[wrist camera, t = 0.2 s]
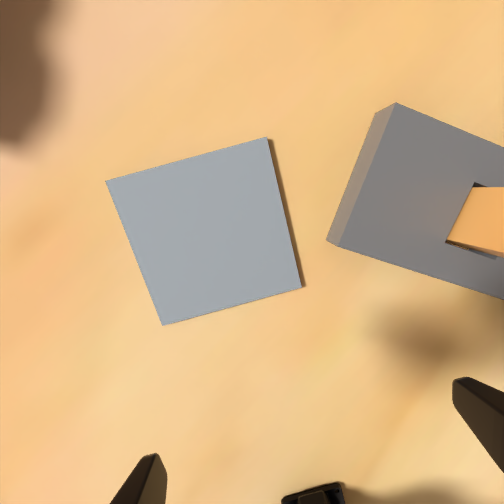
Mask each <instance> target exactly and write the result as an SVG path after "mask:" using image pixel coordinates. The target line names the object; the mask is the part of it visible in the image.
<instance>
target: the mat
mask: <svg viewBox="0 0 504 504" xmlns="http://www.w3.org/2000/svg"><path fill="white" fill-rule="evenodd" d="M105 182H106V184H107V187H108V189H109V192H110V194H111V197H112V199H113V202H114V204H115V207H116V209H117V212H118V214H119V217H120V220H121V222H122V225H123V227H124V230H125V232H126V235H127V237H128V240H129V242H130V245H131V247H132V250H133V253H134V255H135V258H136V260H137V263H138V265H139V268H140V270H141V273H142V275H143V278H144V280H145V283H146V285H147V288H148V291H149V293H150V296H151V298H152V301H153V303H154V306H155V308H156V311H157V313H158V316H159V318H160V321H161V324H162V326H164V325H167V324H171V323H175V322H178V321H182V320H186V319H189V318H193V317H196V316H200V315H204V314H207V313H211V312H215V311H218V310H222V309H225V308H229V307H233V306H236V305H240V304H244V303H247V302H251V301H254V300H258V299H262V298H265V297H269V296H273V295H276V294H280V293H283V292H287V291H291V290H294V289H298V288H302V287H301V282H300V278H299V274H298V269H297V265H296V261H295V256H294V252H293V248H292V244H291V239H290V235H289V231H288V226H287V222H286V218H285V214H284V209H283V205H282V201H281V196H280V192H279V188H278V184H277V179H276V175H275V171H274V166H273V162H272V158H271V154H270V149H269V145H268V141H267V137H264V138H260V139H257V140H253V141H249V142H246V143H242V144H239V145H235V146H231V147H228V148H224V149H220V150H217V151H213V152H209V153H206V154H202V155H198V156H195V157H191V158H187V159H184V160H180V161H177V162H173V163H169V164H166V165H162V166H158V167H155V168H151V169H147V170H144V171H140V172H136V173H133V174H129V175H126V176H122V177H118V178H115V179H111V180H107V181H105Z"/></svg>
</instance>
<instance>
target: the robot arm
mask: <svg viewBox="0 0 504 504" xmlns="http://www.w3.org/2000/svg"><path fill="white" fill-rule="evenodd" d="M452 400H453V404H454V406H455V408H456V410H457V411H458V412H459V414H460V415H461V416H462V418H463V419H464V421H465V422H466V423H467V425H468V426H469V427H470V429H471V430H472V431H473V433H474V434H475V436H476V437H477V438H478V440H479V441H480V442H481V444H482V445H483V446H484V448H485V449H486V451H487V452H488V453H489V455H490V456H491V457H492V459H493V460H494V461H495V463H496V464H497V465H498V467H499V468H500V469H501V470H502V471H503V473H504V392H502V391H500V390H497V389H495V388H493V387H491V386H488V385H486V384H484V383H482V382H479V381H477V380H475V379H473V378H470V377H462V378H458V379H455V380H454V381H453V383H452ZM166 490H167V472H166V469H165V467H164V465H163V463H162V461H161V458H160V456H159V454H157V453H154V454H150V455H146V456H144V457H143V458H142V459H141V460H140V461H139V463H138V464H137V465H136V467H135V468H134V470H133V471H132V473H131V474H130V475H129V477H128V478H127V480H126V481H125V483H124V484H123V485H122V487H121V488H120V490H119V491H118V493H117V494H116V495H115V497H114V498H113V500H112V501H111V503H110V504H165V501H166ZM281 504H345V501H344V497H343V493H342V489H341V487H340V485H339V484H332V485H328V486H325V487H321V488H318V489H314V490H310V491H307V492H303V493H300V494H296V495H292V496H289V497H285V498H283V499H282V500H281Z"/></svg>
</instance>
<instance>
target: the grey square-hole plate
mask: <svg viewBox="0 0 504 504" xmlns="http://www.w3.org/2000/svg"><path fill="white" fill-rule="evenodd" d="M472 187H504V147H501V146H499V145H497V144H494V143H492V142H489V141H487V140H485V139H482V138H480V137H477V136H475V135H473V134H470V133H468V132H465V131H463V130H461V129H458V128H456V127H453V126H451V125H449V124H446V123H444V122H441V121H439V120H437V119H434V118H432V117H429V116H427V115H425V114H422V113H420V112H417V111H415V110H413V109H410V108H408V107H406V106H403V105H401V104H398V103H394V104H392V105H390V106H388V107H386V108H385V109H383V110H381V111H379V112H377V113H375V116H374V118H373V121H372V123H371V126H370V128H369V131H368V134H367V136H366V139H365V141H364V144H363V146H362V149H361V151H360V154H359V157H358V159H357V162H356V164H355V167H354V169H353V172H352V174H351V177H350V180H349V182H348V185H347V187H346V190H345V192H344V195H343V197H342V200H341V203H340V205H339V208H338V210H337V213H336V215H335V218H334V220H333V223H332V225H331V228H330V231H329V233H328V236H327V238H326V240H327V241H328V242H330V243H332V244H334V245H336V246H338V247H341V248H344V249H347V250H350V251H353V252H356V253H359V254H362V255H366V256H369V257H372V258H375V259H378V260H381V261H384V262H387V263H391V264H394V265H397V266H400V267H403V268H406V269H409V270H412V271H416V272H419V273H422V274H425V275H428V276H431V277H434V278H437V279H441V280H444V281H447V282H450V283H453V284H456V285H459V286H462V287H465V288H469V289H472V290H475V291H478V292H481V293H484V294H487V295H490V296H494V297H497V298H500V299H503V300H504V258H503V257H499V256H495V255H491V254H487V253H483V252H479V251H475V250H471V249H469V250H465V249H462V248H459V247H456V246H453V245H450V244H447V243H445V241H446V239H447V237H448V235H449V233H450V231H451V229H452V227H453V225H454V223H455V221H456V219H457V217H458V215H459V213H460V211H461V209H462V207H463V204H464V202H465V200H466V198H467V196H468V194H469V192H470V190H471V188H472Z"/></svg>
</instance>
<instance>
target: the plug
mask: <svg viewBox="0 0 504 504" xmlns="http://www.w3.org/2000/svg"><path fill="white" fill-rule="evenodd" d="M446 242H449V243H452V244H455V245H458V246H461V247H464V248H467V249H471V250H475V251H479V252H483V253H487V254H491V255H495V256H499V257H503V258H504V187H472V188H471V190H470V192H469V194H468V196H467V198H466V200H465V202H464V204H463V207H462V209H461V211H460V213H459V215H458V217H457V219H456V221H455V223H454V225H453V227H452V229H451V231H450V233H449V235H448V237H447V239H446Z"/></svg>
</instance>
